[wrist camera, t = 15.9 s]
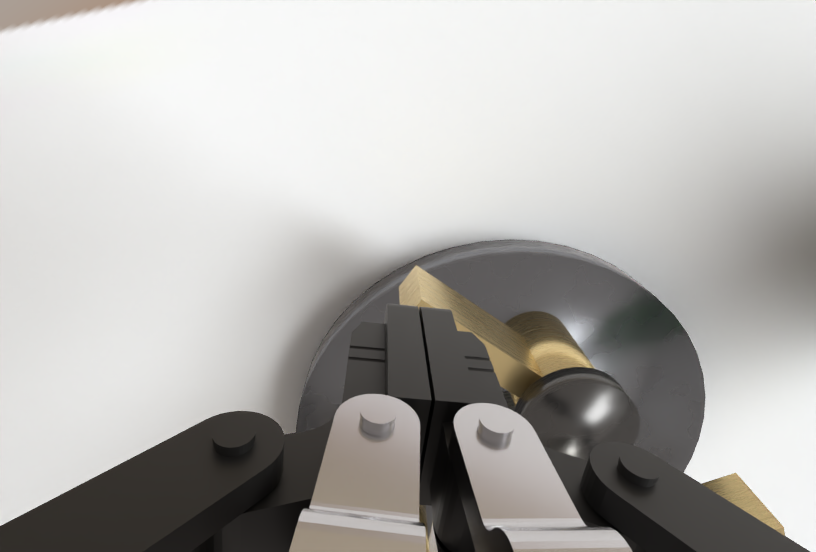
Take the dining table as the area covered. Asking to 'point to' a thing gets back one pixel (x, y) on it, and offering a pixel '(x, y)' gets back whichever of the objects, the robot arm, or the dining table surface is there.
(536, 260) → the base
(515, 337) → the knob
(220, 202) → the dining table surface
